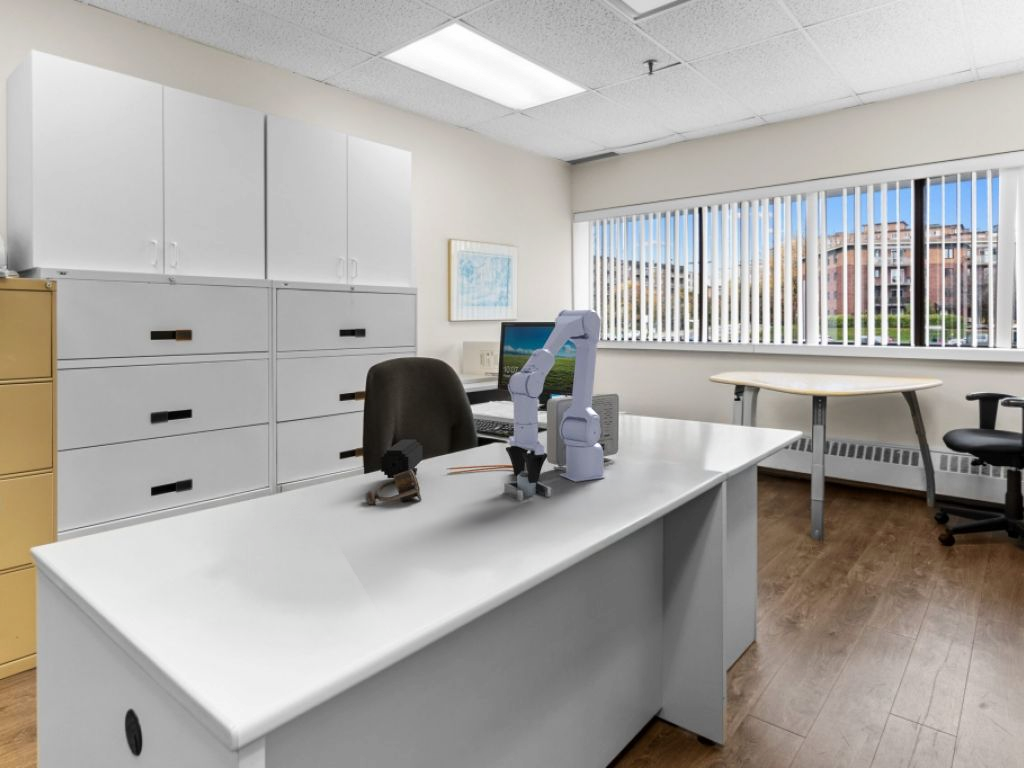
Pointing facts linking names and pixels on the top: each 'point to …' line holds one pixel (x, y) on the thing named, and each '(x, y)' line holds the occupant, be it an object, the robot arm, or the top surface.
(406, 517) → the top surface
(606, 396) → the network device
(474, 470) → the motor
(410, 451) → the security camera
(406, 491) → the mechanical counter
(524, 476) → the light grey cylinder
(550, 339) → the robot arm
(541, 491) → the clip cradle
